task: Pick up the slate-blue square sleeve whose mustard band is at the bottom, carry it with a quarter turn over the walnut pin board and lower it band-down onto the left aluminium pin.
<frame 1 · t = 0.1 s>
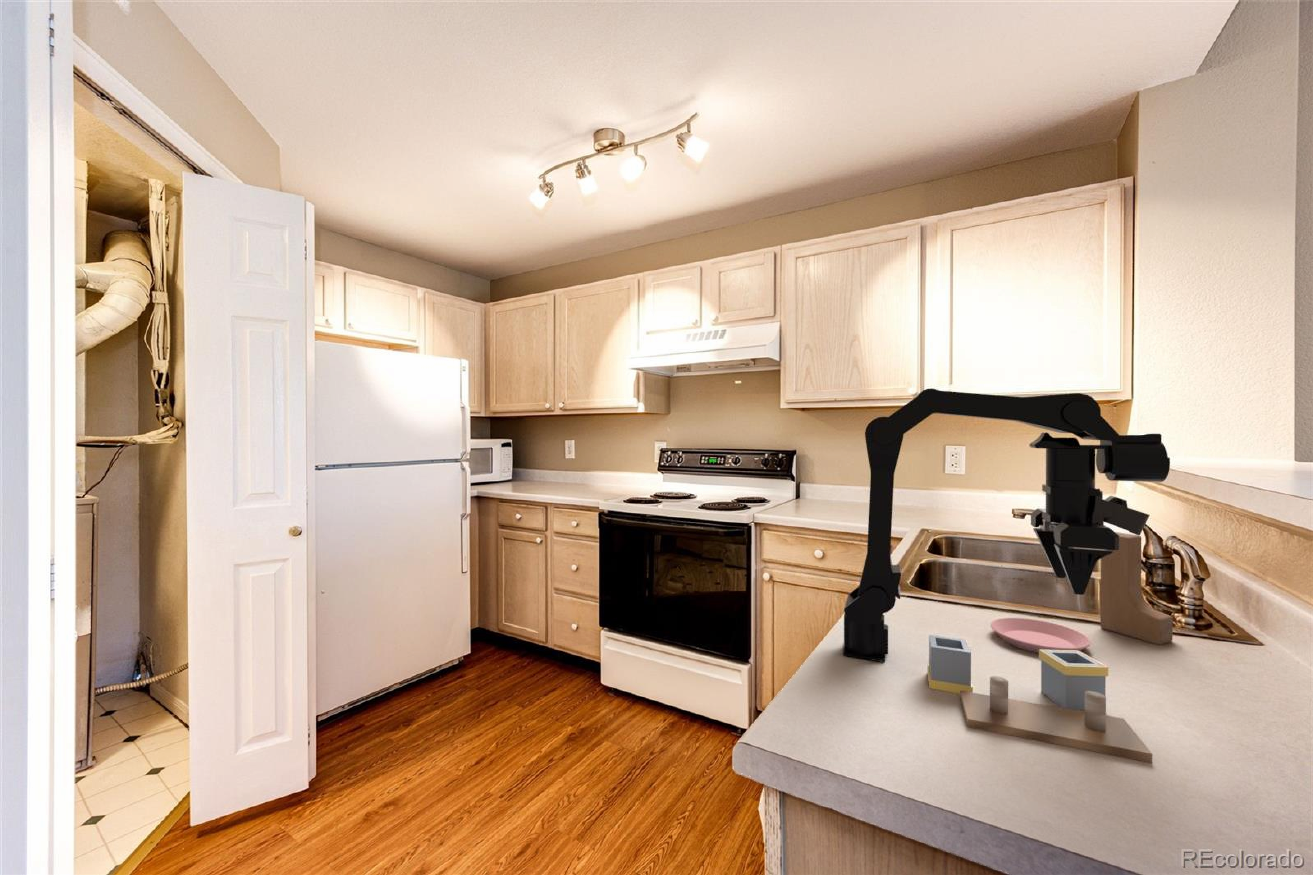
hand: (1069, 585, 77), 15 cm above the counter, fingers open, 9 cm apart
sleeve band up: (1072, 701, 73), on the counter
pin board: (1045, 726, 66), on the counter
wooden block: (1135, 635, 96), on the counter
sleeve band down: (949, 683, 78), on the counter
plate: (1038, 644, 93), on the counter
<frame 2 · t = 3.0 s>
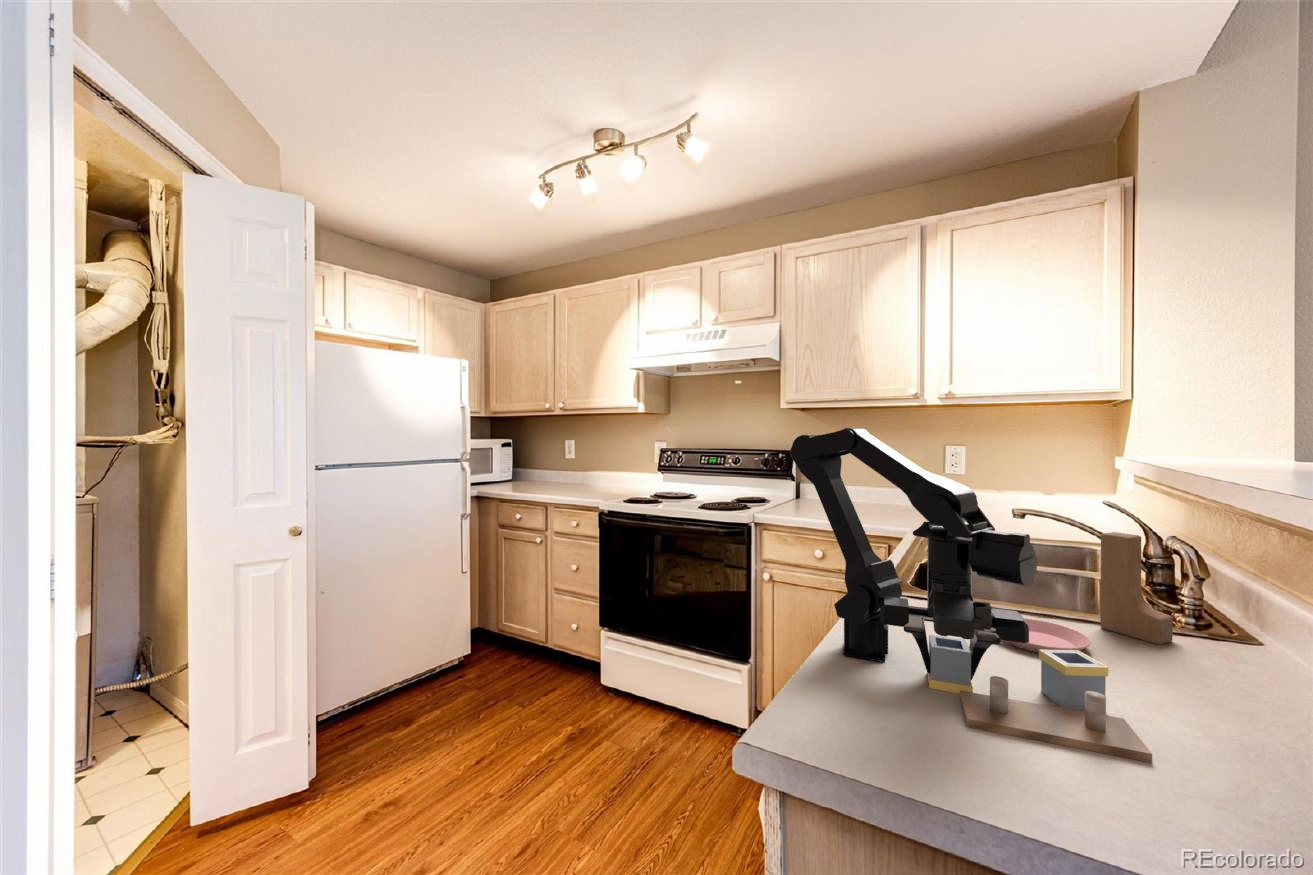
hand: (948, 675, 78), 1 cm above the counter, fingers closed on sleeve band down, 5 cm apart
sleeve band down: (949, 683, 78), on the counter, touching gripper
everything else where it was.
when the fingers open (3 cm above the counter, at t = 7.4 s): sleeve band down drops 1 cm, resting on pin board.
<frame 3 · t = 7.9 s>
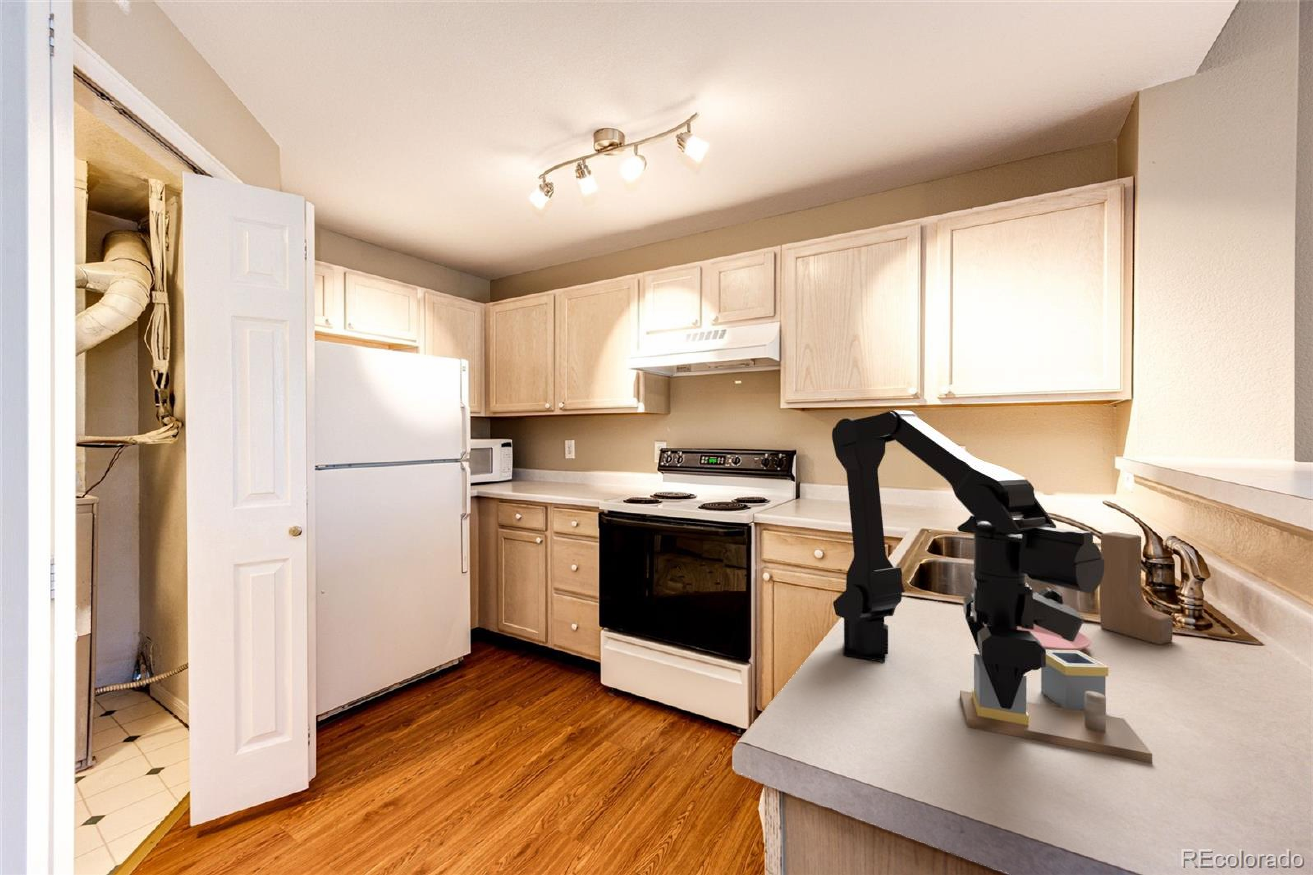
hand: (998, 691, 69), 3 cm above the counter, fingers open, 9 cm apart
sleeve band down: (998, 710, 69), point 1 cm above the counter, touching pin board
everything else where it was.
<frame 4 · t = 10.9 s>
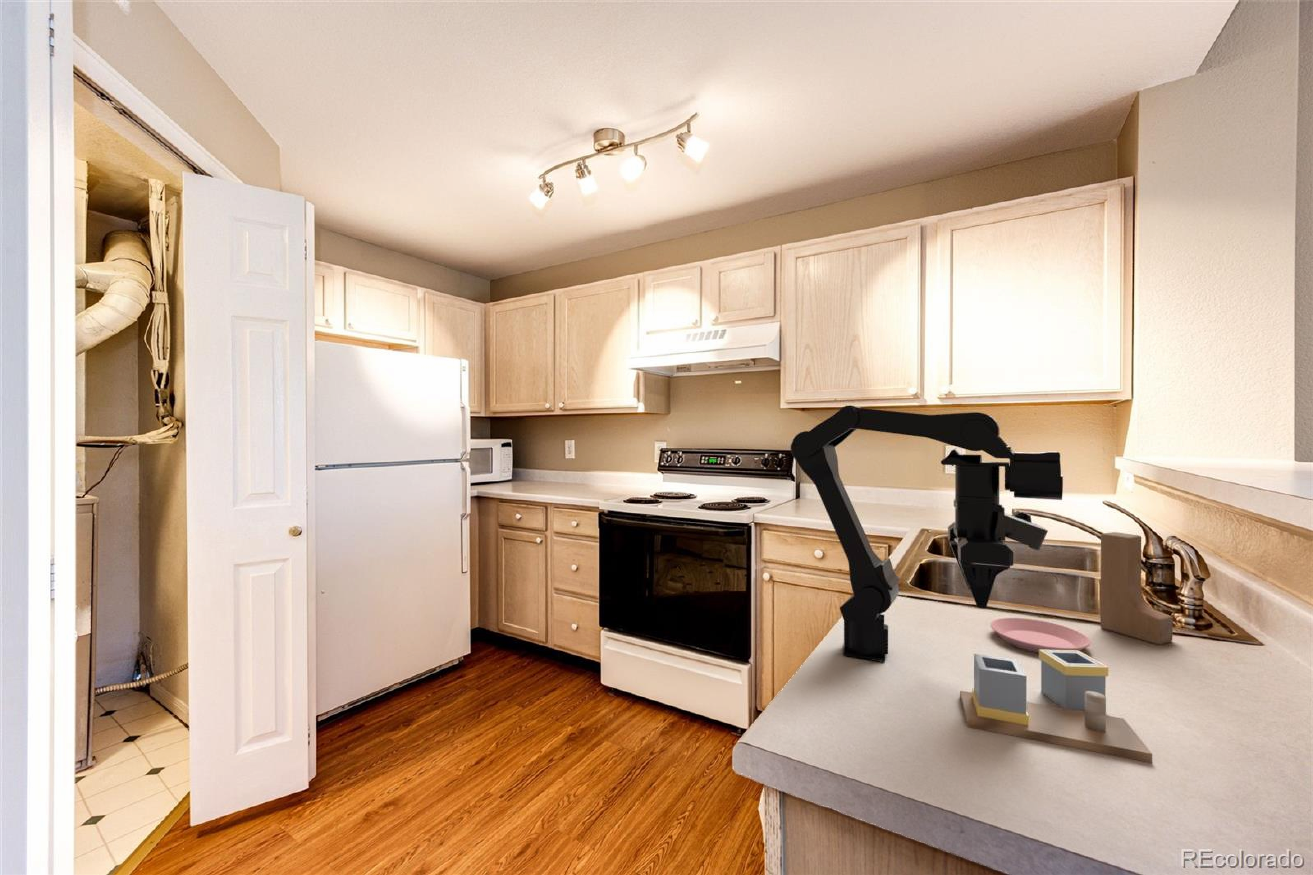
hand: (976, 598, 80), 12 cm above the counter, fingers open, 9 cm apart
nothing on the counter moved.
at the end: sleeve band down 0.0 cm from the target spot on the pin board, point 1.0 cm above the pin board's base; sleeve band down tilted 0°; the gripper is holding nothing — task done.
